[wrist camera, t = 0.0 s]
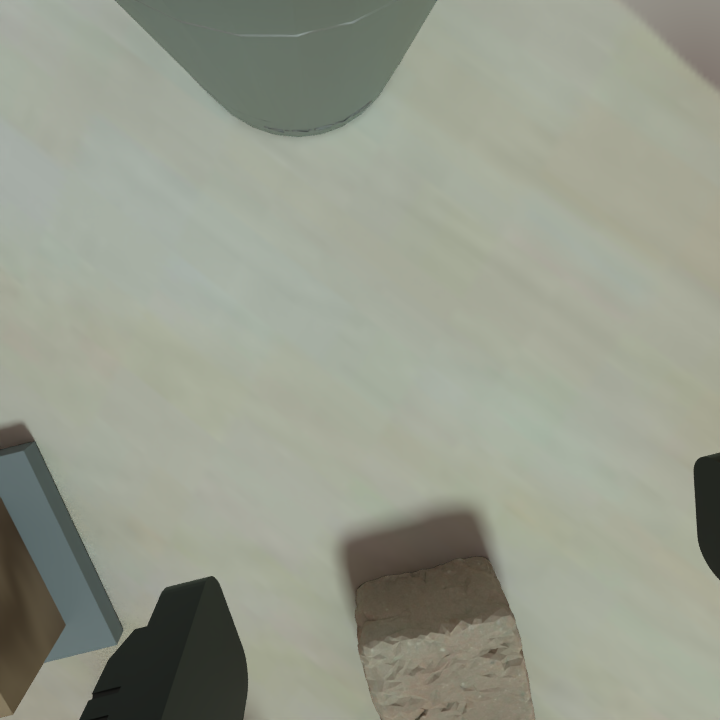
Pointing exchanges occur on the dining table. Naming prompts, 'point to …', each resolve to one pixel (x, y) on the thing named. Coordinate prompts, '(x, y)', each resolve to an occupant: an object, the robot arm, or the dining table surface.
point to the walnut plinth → (22, 617)
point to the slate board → (57, 553)
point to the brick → (442, 645)
